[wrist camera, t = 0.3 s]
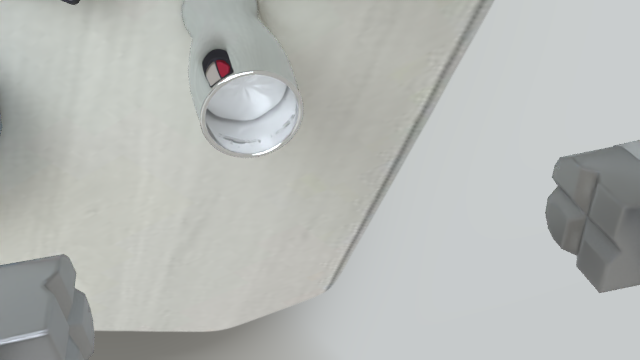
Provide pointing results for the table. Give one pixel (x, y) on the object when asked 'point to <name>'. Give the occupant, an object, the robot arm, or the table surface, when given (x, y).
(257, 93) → the beer glass
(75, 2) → the red and gray box
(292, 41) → the table surface
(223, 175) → the table surface
